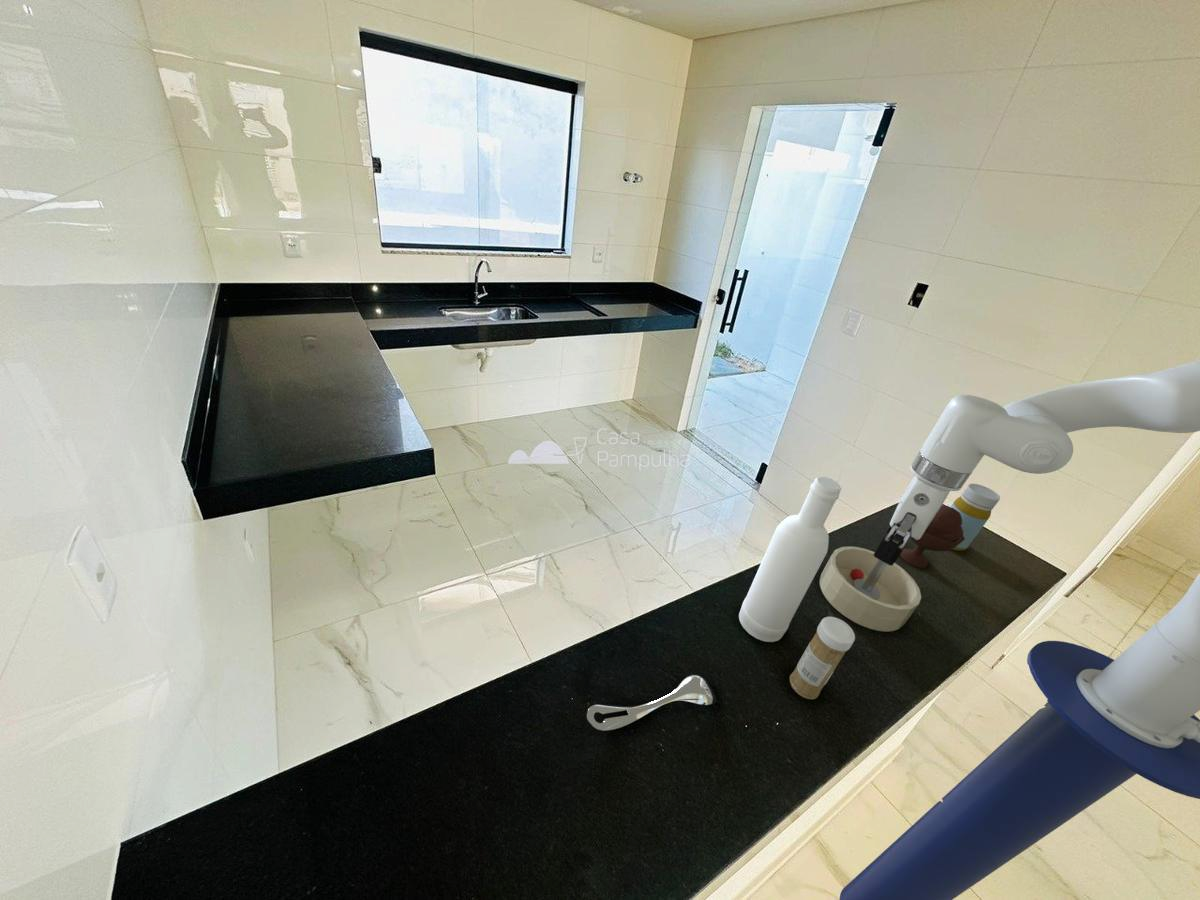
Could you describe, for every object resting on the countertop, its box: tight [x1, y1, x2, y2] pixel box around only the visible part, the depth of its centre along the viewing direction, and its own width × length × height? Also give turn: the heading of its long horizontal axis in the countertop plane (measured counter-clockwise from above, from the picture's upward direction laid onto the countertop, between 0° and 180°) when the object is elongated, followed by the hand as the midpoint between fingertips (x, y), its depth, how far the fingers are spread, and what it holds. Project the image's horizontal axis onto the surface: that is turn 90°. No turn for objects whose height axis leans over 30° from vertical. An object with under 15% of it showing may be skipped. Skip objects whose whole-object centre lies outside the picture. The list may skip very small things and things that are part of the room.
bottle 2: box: [950, 483, 1001, 552], centre depth 106 cm, size 7×7×15 cm
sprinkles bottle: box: [789, 616, 856, 700], centre depth 67 cm, size 5×5×14 cm
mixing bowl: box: [819, 546, 922, 632], centre depth 88 cm, size 16×16×6 cm
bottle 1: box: [738, 476, 842, 643], centre depth 73 cm, size 8×8×30 cm
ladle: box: [852, 560, 888, 600], centre depth 86 cm, size 5×5×13 cm
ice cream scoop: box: [585, 673, 717, 732], centre depth 64 cm, size 20×4×5 cm
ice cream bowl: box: [899, 505, 965, 568], centre depth 99 cm, size 11×11×15 cm
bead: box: [850, 569, 864, 580], centre depth 92 cm, size 2×2×2 cm
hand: (889, 548), depth 83 cm, fingers open, 9 cm apart
